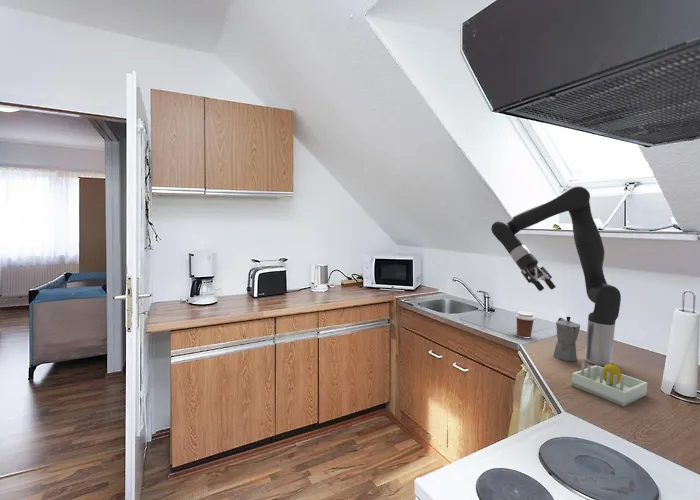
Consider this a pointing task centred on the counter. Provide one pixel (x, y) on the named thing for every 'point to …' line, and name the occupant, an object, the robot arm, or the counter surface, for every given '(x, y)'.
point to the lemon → (611, 373)
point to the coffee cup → (524, 323)
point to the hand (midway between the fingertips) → (547, 289)
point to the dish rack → (616, 393)
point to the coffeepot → (566, 339)
